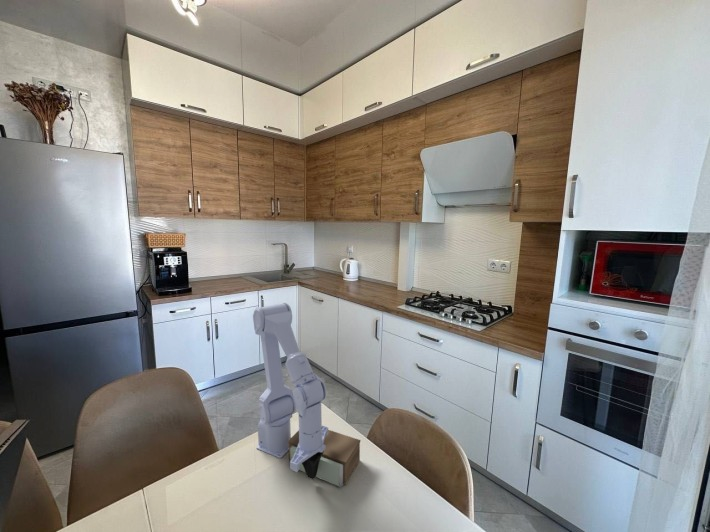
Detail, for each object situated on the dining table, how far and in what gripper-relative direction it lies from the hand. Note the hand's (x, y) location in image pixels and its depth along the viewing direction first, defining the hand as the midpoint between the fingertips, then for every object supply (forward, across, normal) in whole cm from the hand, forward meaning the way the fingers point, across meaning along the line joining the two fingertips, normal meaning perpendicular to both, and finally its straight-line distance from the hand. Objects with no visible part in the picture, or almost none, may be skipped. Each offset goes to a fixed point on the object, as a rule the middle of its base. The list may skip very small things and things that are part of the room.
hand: (311, 476), depth 76 cm
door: (+2, +2, 0) cm, 3 cm away
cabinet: (+2, +8, +1) cm, 9 cm away
